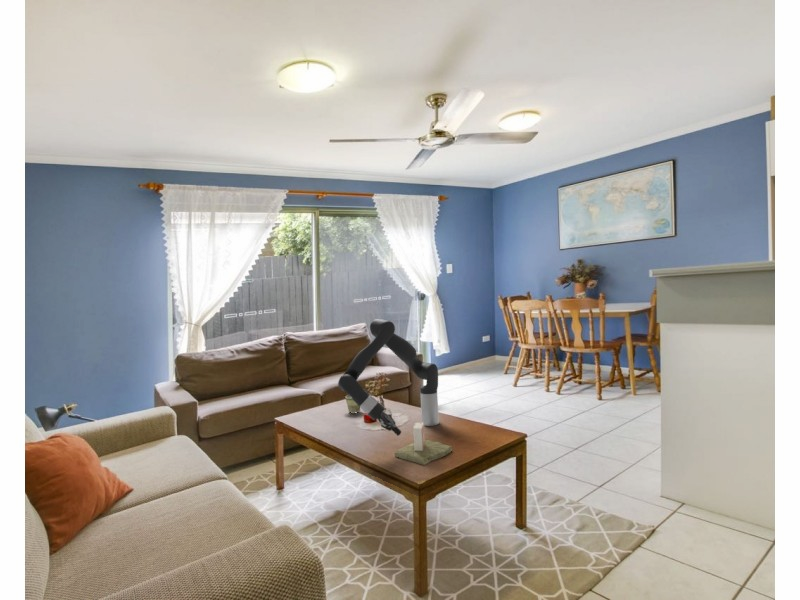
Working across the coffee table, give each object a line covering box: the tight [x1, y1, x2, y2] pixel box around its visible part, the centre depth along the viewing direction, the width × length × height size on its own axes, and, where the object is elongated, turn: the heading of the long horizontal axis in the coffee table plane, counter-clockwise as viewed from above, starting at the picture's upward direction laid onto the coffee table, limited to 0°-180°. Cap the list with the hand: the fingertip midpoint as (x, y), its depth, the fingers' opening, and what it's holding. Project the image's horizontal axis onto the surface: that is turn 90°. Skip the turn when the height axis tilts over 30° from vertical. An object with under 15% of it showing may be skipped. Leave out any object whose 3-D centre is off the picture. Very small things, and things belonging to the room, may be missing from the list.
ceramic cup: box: [345, 394, 361, 414], centre depth 270 cm, size 13×10×10 cm
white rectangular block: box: [412, 422, 426, 451], centre depth 199 cm, size 8×4×10 cm, turn 170°
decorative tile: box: [394, 439, 453, 466], centre depth 198 cm, size 19×20×4 cm
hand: (399, 433), depth 200 cm, fingers closed
